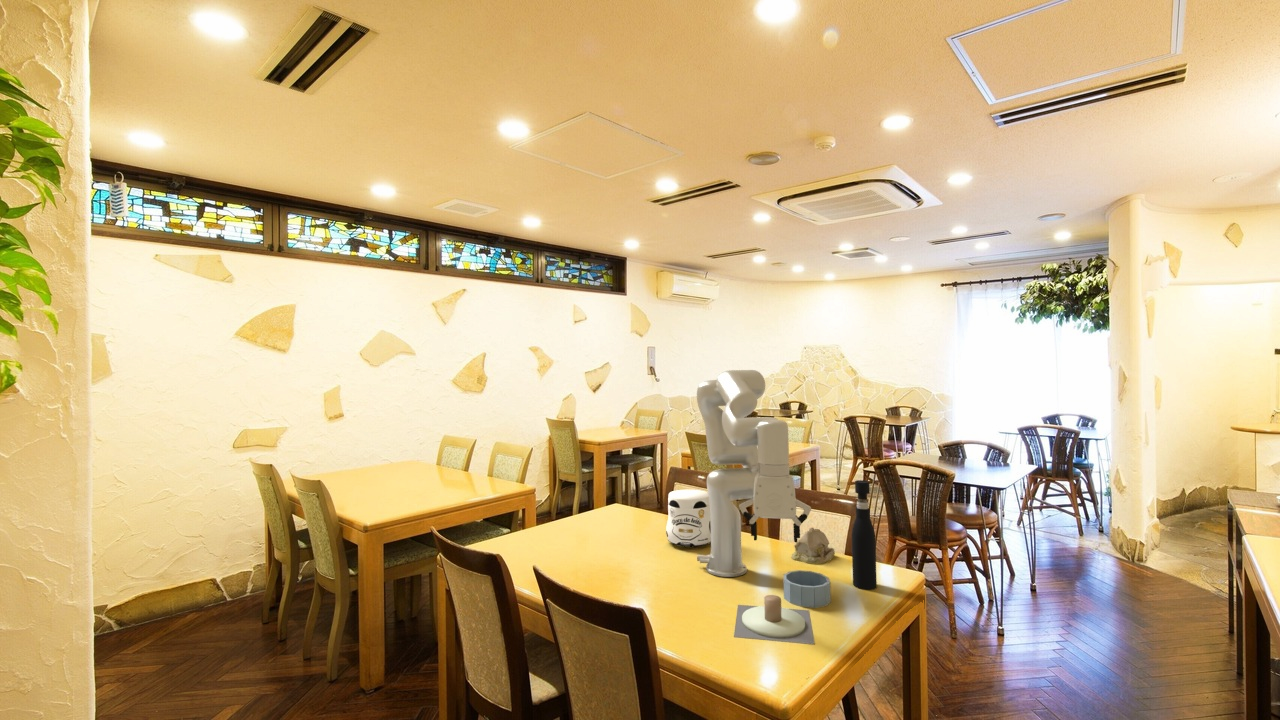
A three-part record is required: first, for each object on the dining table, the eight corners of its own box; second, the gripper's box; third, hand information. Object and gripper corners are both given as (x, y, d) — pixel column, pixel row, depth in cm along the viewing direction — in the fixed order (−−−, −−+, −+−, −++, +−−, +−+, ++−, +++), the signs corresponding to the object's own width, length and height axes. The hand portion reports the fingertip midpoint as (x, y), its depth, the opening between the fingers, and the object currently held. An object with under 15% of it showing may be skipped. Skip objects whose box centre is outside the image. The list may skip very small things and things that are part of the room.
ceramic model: (811, 567, 175) (811, 535, 175) (785, 557, 184) (784, 527, 184) (840, 558, 182) (840, 528, 182) (813, 549, 192) (813, 520, 192)
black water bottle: (848, 581, 161) (846, 479, 162) (869, 580, 162) (867, 479, 163) (859, 590, 155) (856, 484, 156) (881, 589, 156) (878, 483, 156)
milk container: (678, 553, 189) (677, 501, 189) (658, 539, 205) (658, 491, 206) (722, 547, 195) (721, 496, 196) (700, 534, 211) (699, 487, 212)
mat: (733, 640, 128) (733, 636, 128) (737, 607, 145) (737, 604, 145) (814, 647, 123) (814, 644, 123) (808, 613, 141) (808, 610, 141)
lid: (740, 634, 129) (740, 608, 129) (743, 607, 143) (742, 584, 143) (807, 640, 125) (806, 614, 125) (803, 612, 140) (802, 588, 140)
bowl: (784, 608, 144) (784, 585, 144) (783, 590, 156) (782, 569, 156) (832, 612, 142) (832, 588, 142) (827, 593, 153) (827, 572, 153)
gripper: (737, 472, 134) (739, 542, 134) (811, 473, 130) (813, 546, 130) (739, 467, 141) (740, 534, 141) (808, 468, 138) (810, 537, 137)
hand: (775, 539), depth 135 cm, fingers open, 9 cm apart
